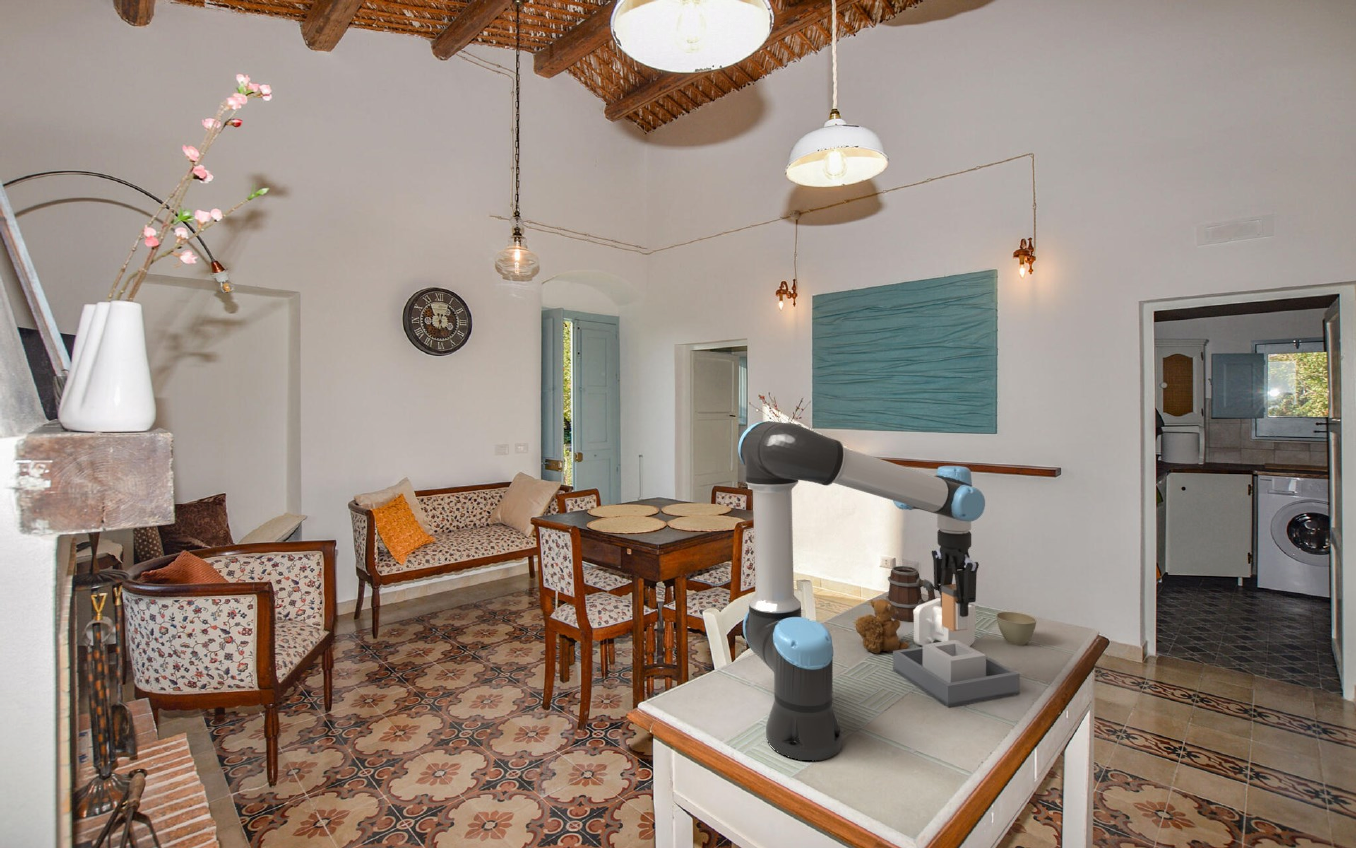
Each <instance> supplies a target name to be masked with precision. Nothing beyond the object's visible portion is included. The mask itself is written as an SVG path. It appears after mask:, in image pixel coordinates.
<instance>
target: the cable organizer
mask: <svg viewBox="0 0 1356 848" xmlns="http://www.w3.org/2000/svg"><path fill="white" fill-rule="evenodd" d="M913 614H914V621H913V642H914V644H917V645H919V646H921V647H923V644H930V643H934V641H938V642H944V641H951V640H958V641H959V642H961V643H963V644H965V645H967V646H969V647H971V645H973V644H974V642H975V640H976V607H975V606H974V605H971V604H968V616H967V630H960V631H951V630H949V629H947V628H946V627H944V626H942V607H941V597H937V598H935V599H934V600H932V601H929V602H926V603H924V604H921V605H918V606H917V607H916V608H915V610H913Z"/></svg>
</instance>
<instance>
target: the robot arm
mask: <svg viewBox="0 0 1356 848" xmlns="http://www.w3.org/2000/svg"><path fill="white" fill-rule="evenodd" d="M738 441H739V442H738V447H737V448H738V449H737V450H738V452H737V453H738V456H739V459H740V461H741V462H742V464H743V466H744V467H745V484H746V485H747V486H748V487H749V488H750V489H751V490H752V504H753V505H752V506H753V507H752V508H753V510H752V511H753V541H754V542H753V543H754V547H753V548H754V550H753V551H754V554H753V555H754V582H755V583H754V585H755V586H754V587H755V590H754V592H755V594H754V596H753V597H752V598H750V599H749V601H748V611H747V612H746V613H745V615H744V618H743V621H742V632H743V636H744V639H745V641H746V643H747V644H748V647H749V648H750V650H751V651H752V652H753V653H754V654H755V655H757V657H758V658H759V659H760V660H761V661H762V662H764V664H765V665H766V666H767V667H768V668H769V669H770V670H771V671H772V672H773V679H774V682H773V683H774V688H773V689H774V695H773V696H774V701H773V704H772V706H771V710H770V712H769V716H768V719H767V721H766V726H765V739H766V738H767V740H768V742H769V743H770V745H771V746H772V747H773V748H774V749H775V750H776V751H778V752H779V753H781V754H782V756H783V755H786V756H789V757H791V758H790V759H792V758H795V759H794V760H796V759H798V760H797V761H802V760H812V761H811V762H817V761H816V760H819V761H824V760H828V759H830V758H832V757H834V756H836V755H837V754H838V753H839V752H840V751H841V749H842V746H843V745H842V743H843V742H842V741H843V739H842V734H843V733H842V729H841V727H840V723H839V721H838V718H837V715H836V712H835V709H834V705H833V695H834V693H833V692H834V691H833V687H834V686H833V685H834V684H833V683H834V682H833V680H834V679H833V675H834V674H833V673H834V671H833V667H834V665H833V659H834V658H833V657H834V647H833V639H832V635H831V633H830V631H829V630H828V628H827V627H826V626H825V625H824V624H822V623H820V622H819V621H816V620H810V618H807V617H802V602H801V600H799V599H798V598H797V596H795V588H794V587H795V585H794V583H795V582H794V545H793V544H794V541H793V540H794V539H793V537H794V535H793V531H794V530H793V493H792V492H793V489H794V488H795V487H796V486H797V485H798V483H799V481H803V482H810V483H815V484H819V485H822V486H830V485H832V484H837V485H839V486H843V487H846V488H849V489H854V490H857V491H859V492H864V493H867V494H870V495H874V496H876V497H879V498H883V499H887V500H890V501H892V502H893V504H894V506H895V507H897V508H898V510H899V509H900V510H908V511H912V510H921V511H923V512H924V511H925V512H928V513H932V514H935V515H937V517H936V519H937V524H936V525H937V526H936V527H937V528H938V530H937V537H936V539H937V542H936V543H937V544H938V546H939V547H940V548H939V549H936V550H932V551H931V556H932V557H931V558H932V561H933V562H932V563H933V586H934V591H938V593H939V595H940V598H941V607H942V592H941V585H949V584H953V579H954V580H955V584H956V589H957V596H958V601H956V602H955V629H957V630H960V629H967V616H968V605H970V603H975V602H976V601H977V573H978V569H979V567H980V565H979V562H978V561H973V560H972V559H971V558H970V554H969V549H970V548H971V547H972V533H971V530H972V522H975V521H976V520H978V519H979V518H980V517H981V516H982V515H983V514H984V512H985V507H986V499H985V496H984V494H983V492H982V491H981V490H980V489H978V488H976V487H973V483H972V482H973V481H972V472H971V470H970V469H969V467H966V466H961V465H943V466H938V467H937V472H936V475H931V474H928V473H925V472H922V471H919V470H916V469H912V468H910V467H906V466H903V465H900V464H896V463H893V462H890V461H887V460H884V459H881V458H879V457H878V458H877V457H875V456H872V455H870V454H869V455H868V454H866V453H862V452H858V451H856V450H852V449H849V448H846V447H844V444H843V443H842V442H841V441H839V440H837V439H834V438H832V437H829V436H826V435H823V434H821V433H818V432H816V431H814V430H811V429H809V428H807V427H804V426H801V425H799V424H795V423H791V422H781V421H780V422H779V421H774V420H773V421H770V420H767V421H761V422H756V423H754V424H752V425H750V426H748V427H747V429H745V431H744V432H743V433H742V435H741V437H740V439H739V440H738ZM963 597H964V598H963ZM767 740H766V741H767ZM768 742H767V743H768ZM770 745H769V746H770ZM774 749H773V750H774ZM775 750H774V751H775ZM776 751H775V752H776ZM778 752H777V753H778ZM779 753H778V754H779ZM781 754H780V755H781ZM786 756H785V757H786ZM789 757H788V758H789ZM814 760H815V761H814Z"/></svg>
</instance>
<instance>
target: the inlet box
mask: <svg viewBox="0 0 1356 848" xmlns="http://www.w3.org/2000/svg"><path fill="white" fill-rule="evenodd" d="M892 659H893V660H892V671H893V672H895V673H896V674H898V675H899V676H901V677H902V678H904V680H906V681H908V682H909V683H911V684H912V685H914V686H915V687H917V688H918V689H920V690H921V691H922V692H924V693H926V694H927V695H929V696H930V697H931V698H932V699H934V700H936V701H937V702H938V703H940V704H941V705H943V706H945V707H946V708H949V709H950V708H955V707H960V706H967V705H971V704H977V703H982V702H987V701H992V700H993V701H994V700H999V699H1004V698H1009V697H1015V696H1020V695H1021V694H1020V693H1021V692H1020V691H1021V687H1020V685H1021V683H1020V682H1021V674H1020V673H1019V672H1017V671H1015V670H1013V669H1012V668H1010V667H1008V666H1006V665H1004V664H1002V663H1001V662H998V661H996V660H994V659H992V658H991V657H989V656H987V655H986V654H984V653H982V652H980V651H979V650H977V649H975V648H973V647H971V646H970V647H969V646H967V645H965V644H963V643H961V642H959V641H958V640H951V641H944V642H941V641H937V642H933V643H931V642H930V643H929V644H923V646H919V647H918V646H917V647H911V648H908V649H904V650H897V651H893V652H892Z"/></svg>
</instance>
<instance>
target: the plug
mask: <svg viewBox="0 0 1356 848" xmlns="http://www.w3.org/2000/svg"><path fill="white" fill-rule="evenodd" d="M941 592H942V626H944V627H946V628H947V629H949V630H951V631H960V630H967V629H960V630H957V629H955V602H956V601H958V596H957V589H956V583H952V584H949V585H941ZM963 598H964V597H963Z"/></svg>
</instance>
